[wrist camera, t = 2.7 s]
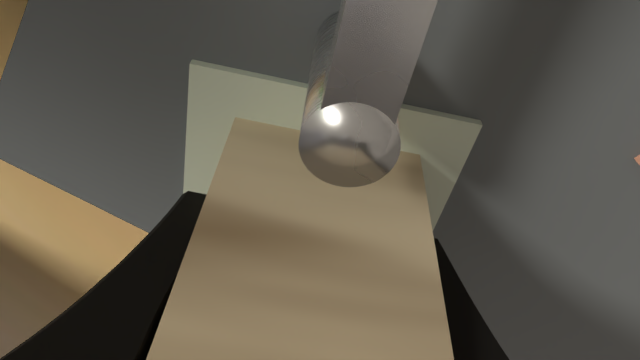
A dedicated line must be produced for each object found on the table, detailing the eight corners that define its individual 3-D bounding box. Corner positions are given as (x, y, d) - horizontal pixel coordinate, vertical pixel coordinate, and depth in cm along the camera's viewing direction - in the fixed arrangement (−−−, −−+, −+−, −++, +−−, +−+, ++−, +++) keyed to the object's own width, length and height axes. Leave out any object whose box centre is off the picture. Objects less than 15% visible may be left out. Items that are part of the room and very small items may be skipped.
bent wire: (545, 219, 12) (600, 347, 9) (191, -24, 9) (120, 58, 6) (869, -14, 9) (1109, 82, 6) (465, -534, 6) (566, -836, 3)
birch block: (371, 276, 13) (378, 545, 9) (220, 248, 13) (141, 511, 8) (420, 154, 11) (466, 435, 6) (235, 117, 11) (137, 382, 6)
